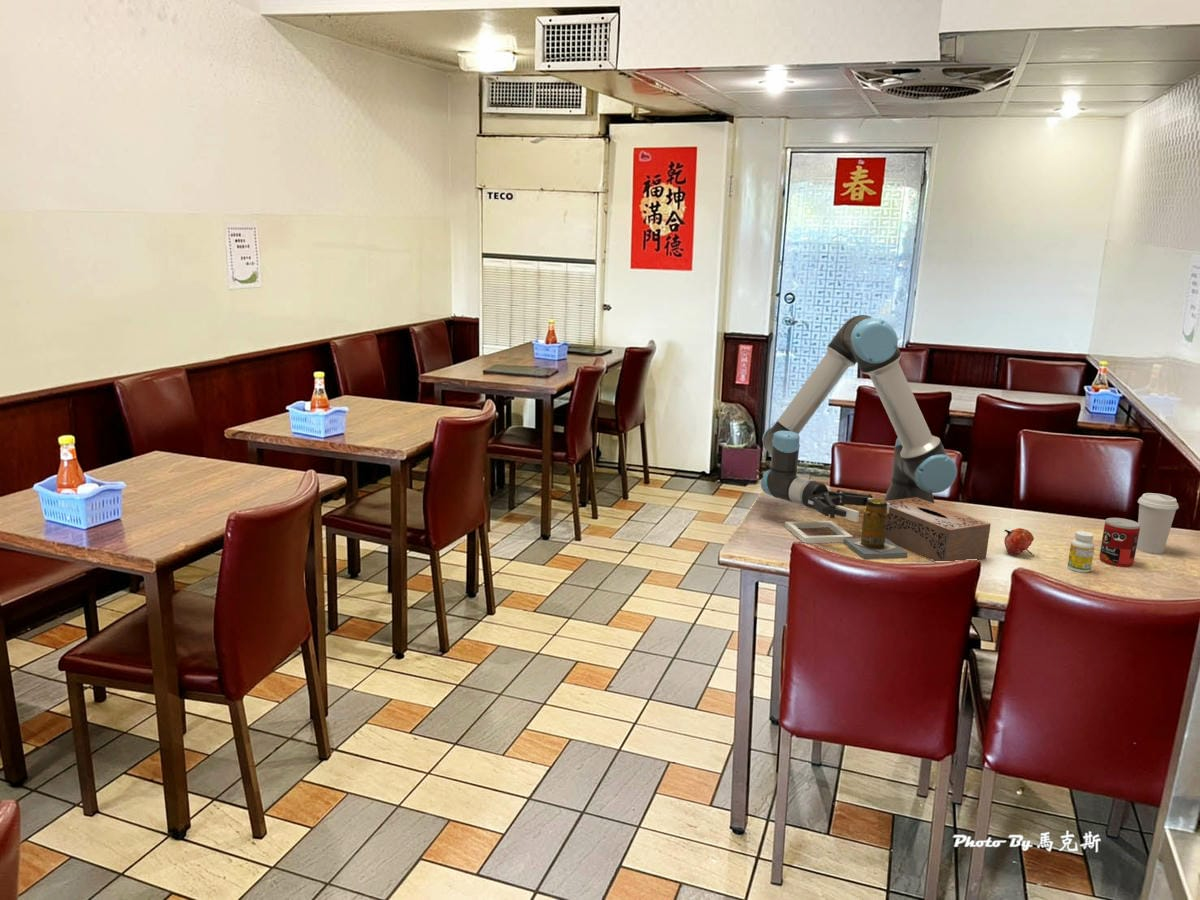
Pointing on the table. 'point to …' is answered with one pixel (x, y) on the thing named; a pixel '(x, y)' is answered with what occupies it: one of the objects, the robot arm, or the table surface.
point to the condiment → (875, 526)
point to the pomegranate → (1018, 541)
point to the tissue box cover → (936, 531)
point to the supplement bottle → (1081, 552)
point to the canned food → (1119, 542)
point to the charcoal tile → (871, 553)
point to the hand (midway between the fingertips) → (873, 512)
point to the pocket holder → (816, 524)
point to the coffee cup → (1155, 521)
